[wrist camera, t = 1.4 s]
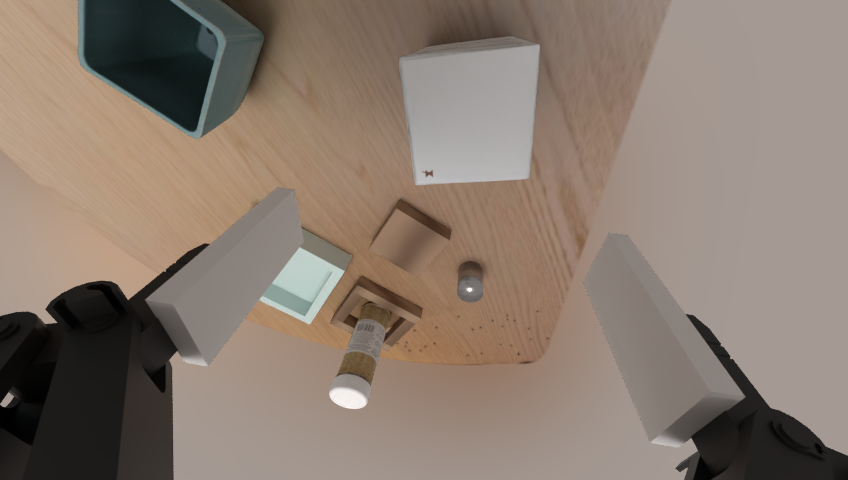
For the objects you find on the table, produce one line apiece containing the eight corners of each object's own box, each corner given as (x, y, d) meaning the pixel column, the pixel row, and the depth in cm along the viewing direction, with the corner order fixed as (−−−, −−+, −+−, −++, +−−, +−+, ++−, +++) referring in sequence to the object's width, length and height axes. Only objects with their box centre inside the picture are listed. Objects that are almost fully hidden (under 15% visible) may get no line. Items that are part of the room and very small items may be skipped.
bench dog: (453, 272, 40) (452, 294, 37) (468, 257, 39) (467, 279, 35) (472, 283, 41) (472, 305, 38) (487, 269, 39) (488, 291, 36)
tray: (236, 267, 45) (222, 282, 42) (258, 203, 38) (242, 216, 35) (318, 308, 48) (309, 324, 45) (352, 255, 41) (344, 271, 38)
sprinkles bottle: (360, 317, 48) (326, 404, 37) (364, 297, 45) (329, 385, 34) (388, 324, 48) (364, 414, 37) (394, 305, 45) (369, 395, 34)
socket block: (334, 314, 48) (329, 323, 47) (361, 276, 43) (357, 285, 41) (389, 341, 50) (387, 351, 49) (422, 308, 45) (420, 318, 43)
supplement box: (510, 127, 29) (530, 184, 19) (432, 132, 30) (411, 188, 20) (515, 33, 25) (545, 41, 15) (424, 43, 26) (394, 57, 16)
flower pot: (261, 115, 32) (197, 143, 24) (174, 54, 29) (75, 65, 22) (293, 32, 27) (226, 36, 20) (192, -48, 25) (75, -77, 17)
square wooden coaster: (373, 237, 39) (368, 249, 37) (400, 197, 35) (396, 208, 33) (420, 264, 41) (417, 277, 39) (451, 228, 37) (449, 240, 35)
